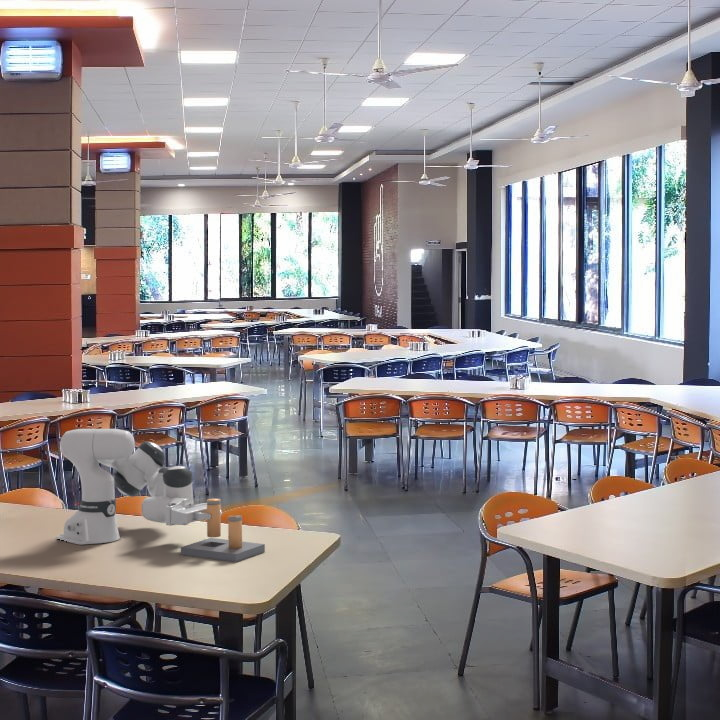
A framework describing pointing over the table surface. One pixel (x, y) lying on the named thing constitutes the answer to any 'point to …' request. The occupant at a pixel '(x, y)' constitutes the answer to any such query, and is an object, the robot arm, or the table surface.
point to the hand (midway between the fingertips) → (215, 515)
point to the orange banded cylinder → (214, 518)
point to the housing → (225, 545)
